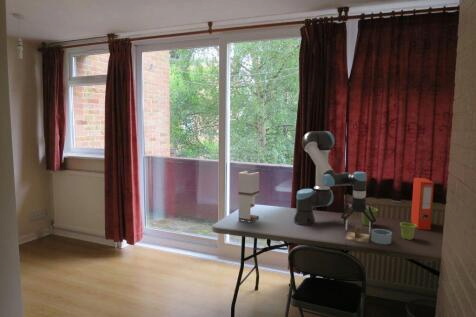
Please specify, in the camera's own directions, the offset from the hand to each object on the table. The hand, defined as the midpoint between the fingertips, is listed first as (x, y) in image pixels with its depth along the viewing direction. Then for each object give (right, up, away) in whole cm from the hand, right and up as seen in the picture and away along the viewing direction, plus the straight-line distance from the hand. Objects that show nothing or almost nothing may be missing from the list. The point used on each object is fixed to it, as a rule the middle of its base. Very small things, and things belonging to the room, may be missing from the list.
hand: (357, 231), depth 213 cm
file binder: (+52, -2, +26) cm, 58 cm away
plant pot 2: (+31, -5, +1) cm, 31 cm away
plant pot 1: (+17, -2, +29) cm, 34 cm away
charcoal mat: (0, -5, +1) cm, 5 cm away
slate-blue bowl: (+12, -5, -5) cm, 14 cm away
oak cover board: (0, -4, +1) cm, 4 cm away
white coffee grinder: (-66, 0, +41) cm, 78 cm away
